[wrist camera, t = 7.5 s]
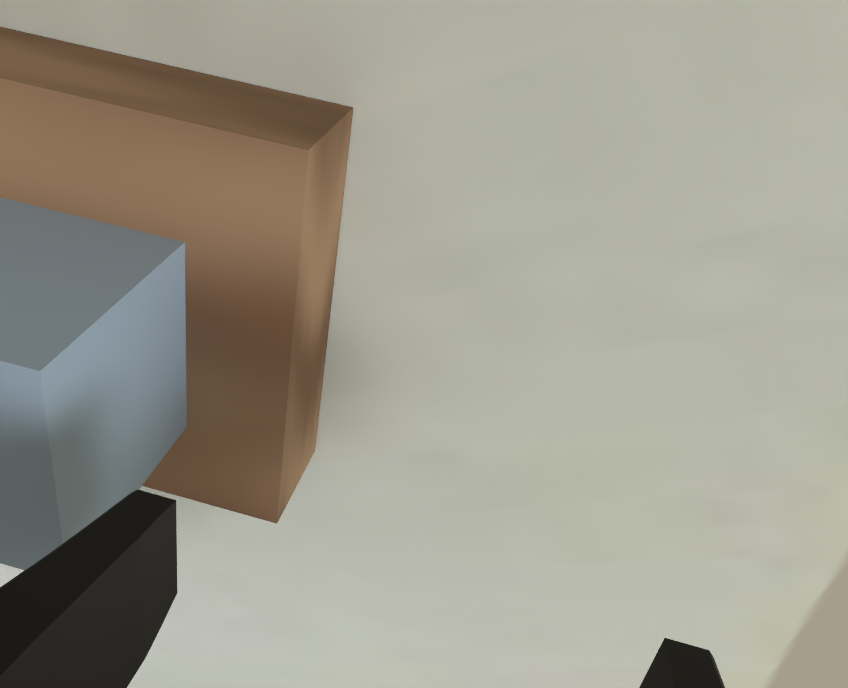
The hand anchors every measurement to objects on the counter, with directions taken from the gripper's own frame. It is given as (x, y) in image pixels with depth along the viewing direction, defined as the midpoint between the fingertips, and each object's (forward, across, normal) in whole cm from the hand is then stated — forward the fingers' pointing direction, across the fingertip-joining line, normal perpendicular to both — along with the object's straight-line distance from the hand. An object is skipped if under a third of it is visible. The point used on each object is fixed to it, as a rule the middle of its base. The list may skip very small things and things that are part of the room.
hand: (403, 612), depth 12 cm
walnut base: (+9, +9, +1) cm, 13 cm away
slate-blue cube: (+6, +9, +1) cm, 11 cm away
